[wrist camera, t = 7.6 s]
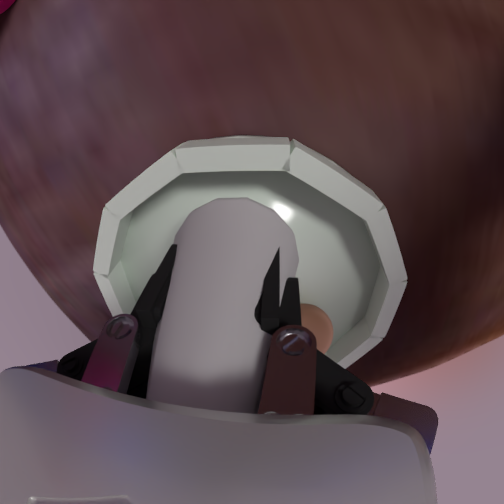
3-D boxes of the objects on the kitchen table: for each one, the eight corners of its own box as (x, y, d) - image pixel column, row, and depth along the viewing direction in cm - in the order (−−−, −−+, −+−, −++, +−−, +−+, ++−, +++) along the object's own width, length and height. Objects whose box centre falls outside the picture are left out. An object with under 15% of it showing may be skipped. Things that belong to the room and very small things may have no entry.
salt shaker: (298, 181, 13) (340, 526, 2) (293, 276, 16) (296, 522, 5) (180, 183, 13) (11, 441, 3) (195, 274, 16) (124, 495, 6)
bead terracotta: (326, 310, 20) (349, 310, 16) (313, 361, 19) (333, 372, 15) (276, 298, 20) (288, 295, 16) (262, 351, 19) (271, 361, 15)
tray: (413, 146, 13) (438, 160, 10) (354, 361, 24) (358, 387, 21) (88, 153, 15) (59, 167, 12) (154, 352, 26) (145, 376, 23)
